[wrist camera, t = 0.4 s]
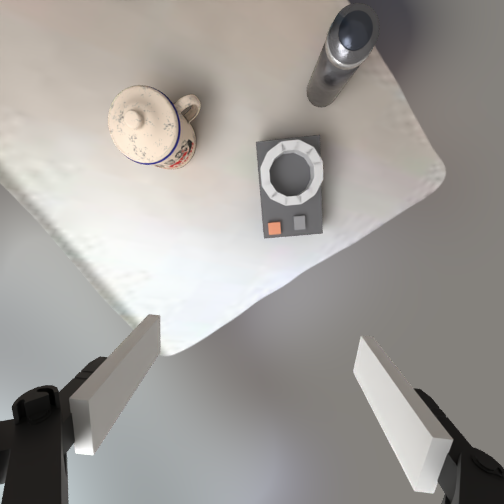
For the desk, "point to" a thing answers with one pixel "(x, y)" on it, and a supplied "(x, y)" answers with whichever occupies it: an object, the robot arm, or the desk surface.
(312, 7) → the desk surface
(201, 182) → the desk surface
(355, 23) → the grey flashlight
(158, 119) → the teacup with lid
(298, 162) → the camera body
